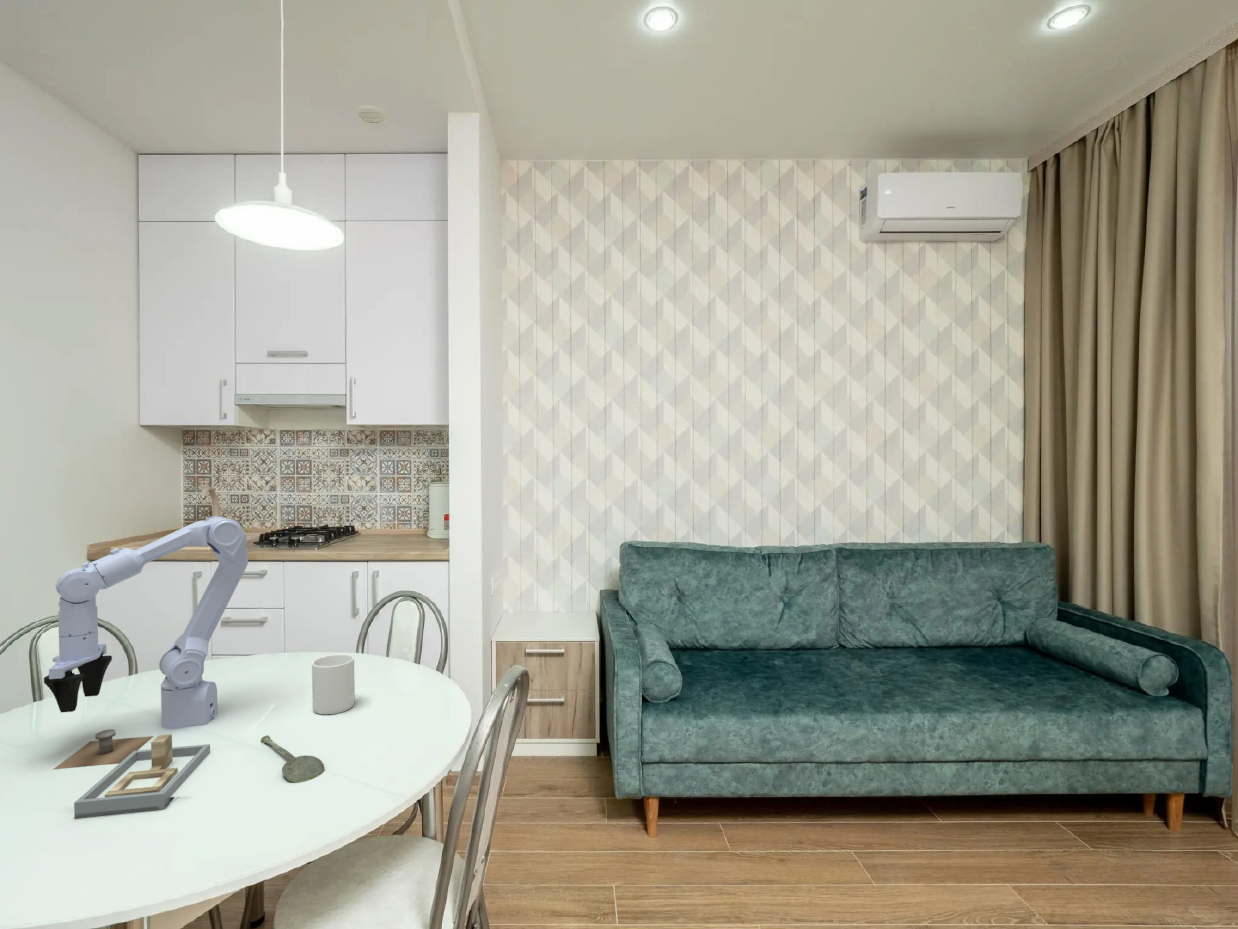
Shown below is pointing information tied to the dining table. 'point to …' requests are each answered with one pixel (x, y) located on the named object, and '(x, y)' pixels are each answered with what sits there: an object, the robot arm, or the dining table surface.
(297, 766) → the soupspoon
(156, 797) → the grey rectangular frame
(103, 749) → the block
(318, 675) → the mug
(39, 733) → the dining table surface
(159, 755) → the wooden knob frame
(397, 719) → the dining table surface
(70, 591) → the robot arm
